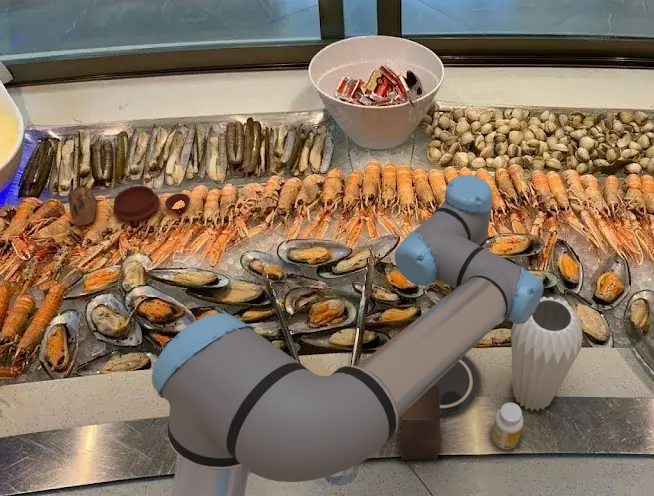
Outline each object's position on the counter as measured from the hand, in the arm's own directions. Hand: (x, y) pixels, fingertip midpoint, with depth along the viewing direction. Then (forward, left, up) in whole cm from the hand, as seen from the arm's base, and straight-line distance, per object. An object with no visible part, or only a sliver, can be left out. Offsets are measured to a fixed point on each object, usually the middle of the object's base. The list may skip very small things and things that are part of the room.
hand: (457, 333), depth 131 cm
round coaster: (-3, -1, -14) cm, 15 cm away
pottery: (-50, +78, -15) cm, 94 cm away
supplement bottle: (+3, -17, -15) cm, 23 cm away
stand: (-13, -11, -14) cm, 22 cm away
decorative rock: (-66, +83, -15) cm, 107 cm away
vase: (+13, -11, -15) cm, 22 cm away
